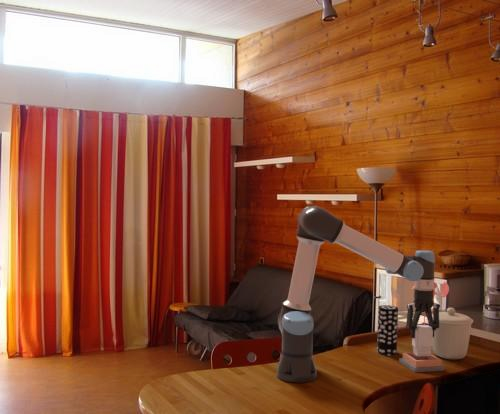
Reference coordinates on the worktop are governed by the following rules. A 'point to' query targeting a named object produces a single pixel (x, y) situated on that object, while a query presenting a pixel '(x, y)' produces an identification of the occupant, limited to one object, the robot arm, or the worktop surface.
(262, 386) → the worktop surface
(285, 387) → the worktop surface
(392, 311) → the white-spotted black cylinder
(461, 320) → the canister
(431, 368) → the pink square tray
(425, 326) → the skincare box
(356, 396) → the worktop surface
